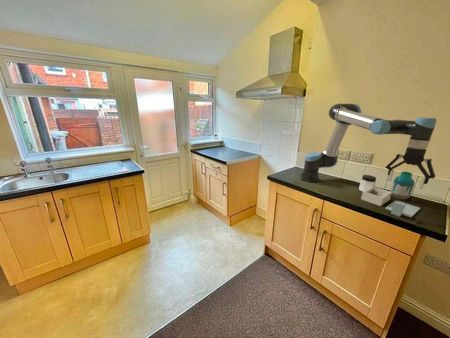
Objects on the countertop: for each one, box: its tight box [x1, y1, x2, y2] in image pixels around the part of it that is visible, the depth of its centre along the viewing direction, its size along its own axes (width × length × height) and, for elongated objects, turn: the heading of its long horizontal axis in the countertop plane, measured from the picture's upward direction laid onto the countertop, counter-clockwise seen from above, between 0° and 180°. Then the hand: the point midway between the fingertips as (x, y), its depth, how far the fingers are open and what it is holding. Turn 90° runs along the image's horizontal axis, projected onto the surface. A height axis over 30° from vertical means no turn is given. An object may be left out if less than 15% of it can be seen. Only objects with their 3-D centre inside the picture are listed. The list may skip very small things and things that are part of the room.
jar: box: [358, 174, 377, 193], centre depth 141 cm, size 9×8×12 cm
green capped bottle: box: [390, 171, 415, 201], centre depth 130 cm, size 11×11×19 cm
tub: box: [360, 186, 392, 207], centre depth 128 cm, size 11×16×6 cm
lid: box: [385, 200, 421, 219], centre depth 115 cm, size 12×22×8 cm, turn 124°
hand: (404, 184), depth 107 cm, fingers open, 13 cm apart
